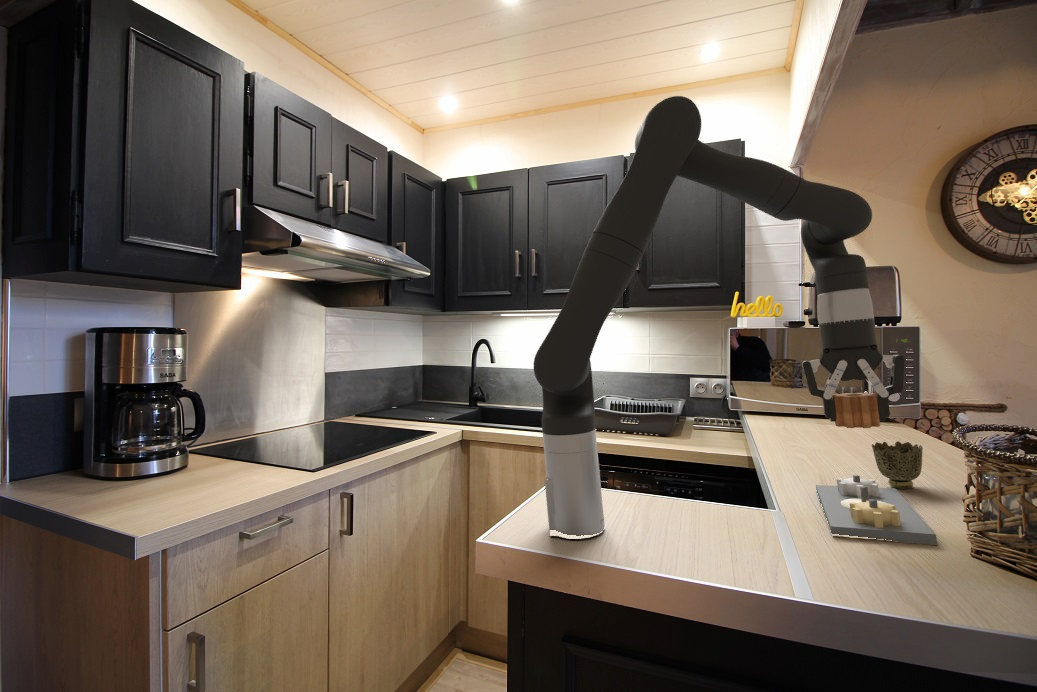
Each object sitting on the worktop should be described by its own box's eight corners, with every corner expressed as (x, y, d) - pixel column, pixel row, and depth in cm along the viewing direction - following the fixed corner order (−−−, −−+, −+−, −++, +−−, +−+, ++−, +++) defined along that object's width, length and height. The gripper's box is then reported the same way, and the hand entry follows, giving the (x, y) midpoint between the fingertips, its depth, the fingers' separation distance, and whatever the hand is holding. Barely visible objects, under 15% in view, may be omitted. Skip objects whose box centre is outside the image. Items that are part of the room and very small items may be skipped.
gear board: (937, 545, 63) (933, 512, 63) (831, 536, 68) (828, 506, 68) (896, 496, 82) (893, 471, 82) (816, 492, 88) (814, 469, 88)
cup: (881, 491, 85) (876, 448, 85) (872, 481, 92) (867, 441, 92) (933, 494, 82) (928, 449, 82) (920, 482, 88) (915, 441, 88)
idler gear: (846, 429, 73) (843, 397, 73) (828, 423, 79) (825, 394, 79) (888, 426, 72) (885, 395, 72) (867, 421, 78) (863, 391, 78)
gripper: (796, 323, 76) (807, 425, 75) (907, 312, 69) (920, 424, 69) (793, 324, 83) (804, 418, 82) (894, 314, 76) (906, 416, 75)
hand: (856, 420), depth 75 cm, fingers closed on idler gear, 6 cm apart
